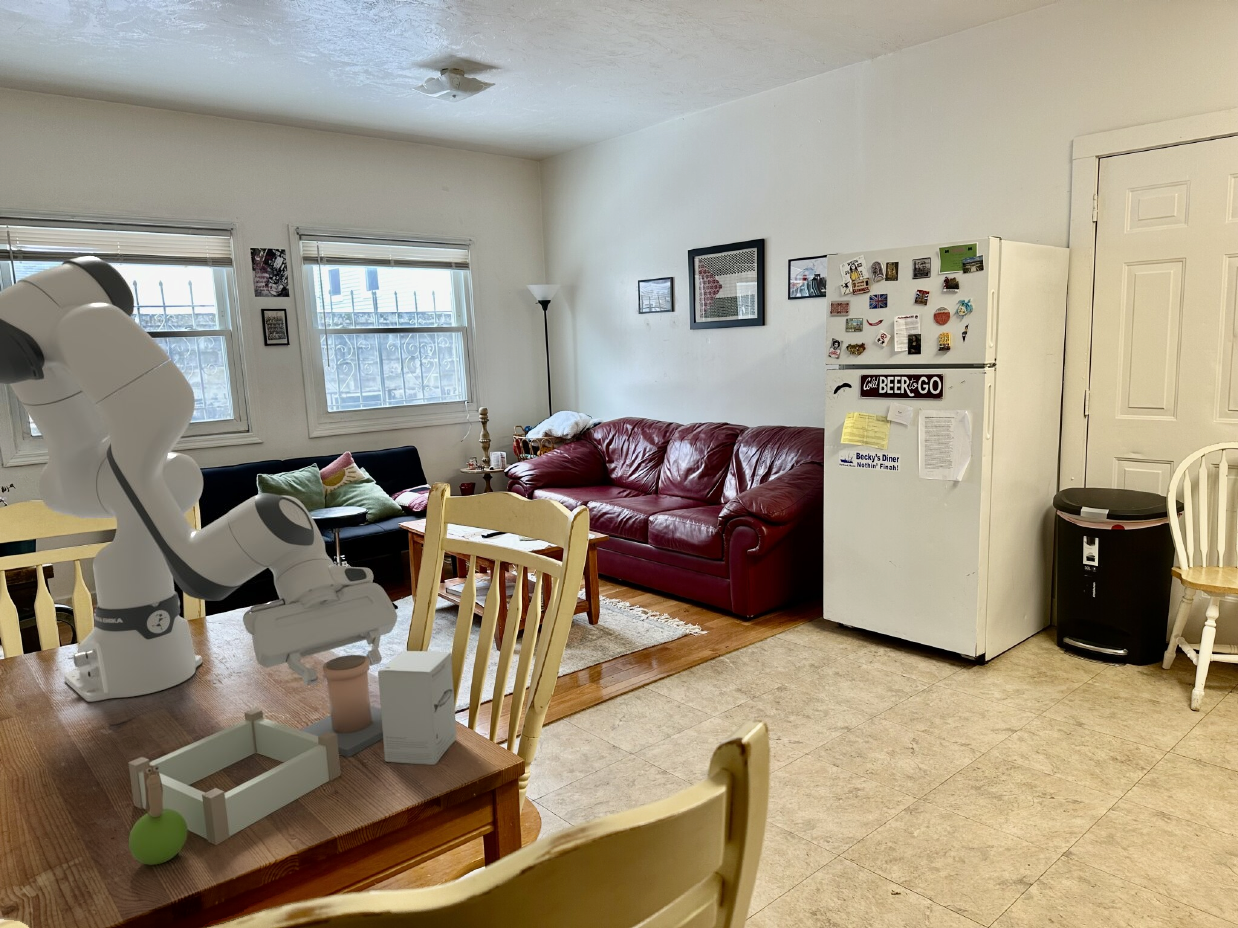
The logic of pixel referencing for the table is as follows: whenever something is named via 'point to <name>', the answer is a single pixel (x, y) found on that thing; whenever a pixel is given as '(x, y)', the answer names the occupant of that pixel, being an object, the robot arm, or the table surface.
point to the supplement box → (417, 707)
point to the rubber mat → (351, 733)
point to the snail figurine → (156, 825)
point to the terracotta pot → (348, 692)
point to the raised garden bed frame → (256, 798)
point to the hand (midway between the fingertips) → (345, 672)
